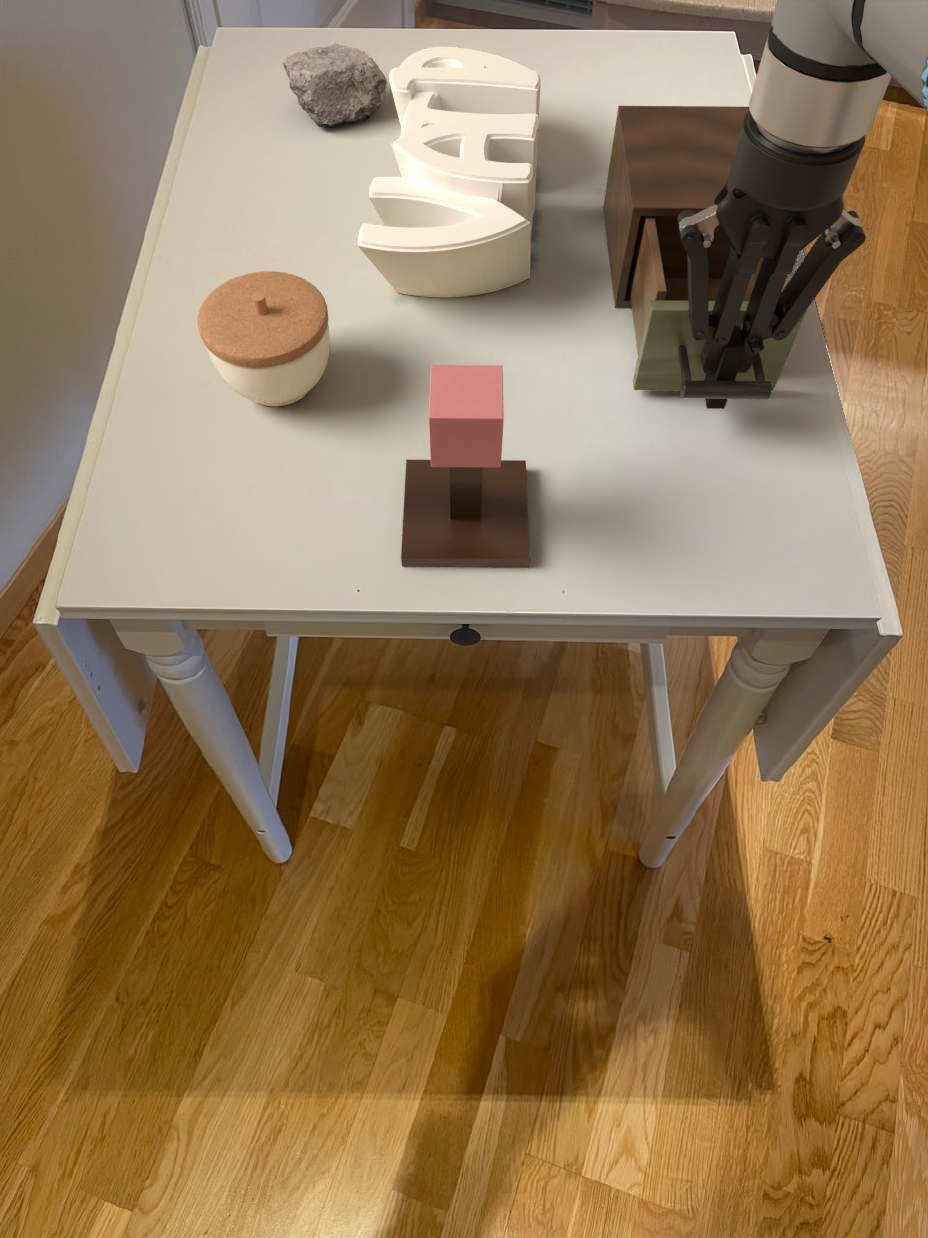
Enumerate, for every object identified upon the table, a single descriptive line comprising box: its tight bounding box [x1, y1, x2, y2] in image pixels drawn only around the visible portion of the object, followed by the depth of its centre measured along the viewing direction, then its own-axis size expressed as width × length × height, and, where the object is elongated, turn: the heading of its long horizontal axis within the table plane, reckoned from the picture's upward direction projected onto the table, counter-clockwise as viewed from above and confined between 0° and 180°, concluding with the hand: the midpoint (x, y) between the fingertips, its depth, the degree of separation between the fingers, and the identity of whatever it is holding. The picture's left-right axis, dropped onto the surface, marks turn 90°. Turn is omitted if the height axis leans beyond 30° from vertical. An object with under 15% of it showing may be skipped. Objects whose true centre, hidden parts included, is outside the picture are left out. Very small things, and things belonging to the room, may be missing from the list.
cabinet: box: [602, 105, 749, 309], centre depth 84 cm, size 16×14×11 cm
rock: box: [282, 42, 388, 128], centre depth 99 cm, size 11×8×10 cm
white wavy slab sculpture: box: [357, 46, 541, 298], centre depth 87 cm, size 35×16×10 cm, turn 172°
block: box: [428, 364, 505, 468], centre depth 62 cm, size 5×5×5 cm
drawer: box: [628, 216, 808, 400], centre depth 76 cm, size 20×12×9 cm, turn 0°
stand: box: [400, 459, 530, 568], centre depth 68 cm, size 10×10×9 cm
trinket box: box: [197, 270, 331, 407], centre depth 75 cm, size 11×11×9 cm
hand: (713, 396), depth 75 cm, fingers closed
